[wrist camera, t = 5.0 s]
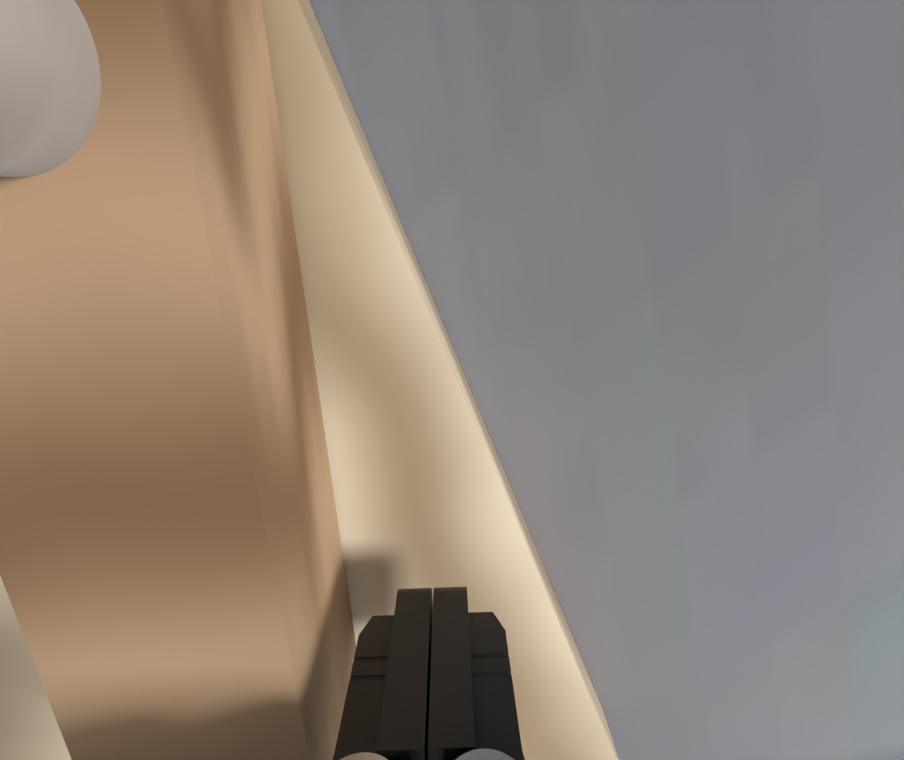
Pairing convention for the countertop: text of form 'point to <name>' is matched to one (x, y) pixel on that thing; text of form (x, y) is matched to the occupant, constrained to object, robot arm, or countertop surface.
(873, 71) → the countertop surface
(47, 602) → the stool leg
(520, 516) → the light wooden board
